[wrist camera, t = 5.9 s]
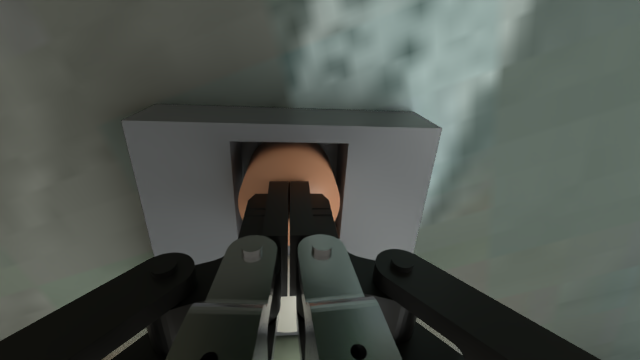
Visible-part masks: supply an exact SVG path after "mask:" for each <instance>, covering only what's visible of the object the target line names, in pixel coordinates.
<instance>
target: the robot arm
mask: <svg viewBox="0 0 640 360" xmlns="http://www.w3.org/2000/svg"><path fill="white" fill-rule="evenodd" d="M287 291H288V181H270V182H269V188H268V194H254V195H253V196H252V197H251V198H250V199H249V200H248V202H247V206H246V210H245V214H244V218H243V221H242V225H241V229H240V233H239V237H238V239H237V240H235V241H234V242H232V243H231V244H230V245H229V246H228V248H227V250H226V252H225V255H224V256H223V257H221V258H219V259H216V260H213V261H210V262H206V263H201V264H197V265H195V263H194V260H193V259H192V258H191V257H190V256H189V255H187V254H184V253H178V252H173V253H165V254H161V255H158V256H155V257H153V258H151V259H149V260H147V261H145V262H143V263H141V264H140V265H138V266H136V267H134V268H132V269H131V270H129V271H127V272H125V273H123V274H121V275H120V276H118V277H116V278H114V279H112V280H111V281H109V282H107V283H105V284H103V285H101V286H100V287H98V288H96V289H94V290H92V291H91V292H89V293H87V294H85V295H83V296H81V297H80V298H78V299H76V300H74V301H72V302H71V303H69V304H67V305H65V306H63V307H61V308H60V309H58V310H56V311H54V312H52V313H51V314H49V315H47V316H45V317H43V318H41V319H40V320H38V321H36V322H34V323H32V324H31V325H29V326H27V327H25V328H23V329H21V330H20V331H18V332H16V333H14V334H12V335H11V336H9V337H7V338H5V339H3V340H1V341H0V360H101V359H103V358H104V357H106V356H107V355H108V354H110V353H111V352H112V351H114V350H115V349H117V348H118V347H119V346H121V345H122V344H123V343H125V342H126V341H128V340H129V339H130V338H132V337H133V336H135V335H136V334H137V333H139V332H140V331H141V330H143V329H144V328H147V331H148V333H146V334H145V335H144V336H142V337H141V338H140V339H138V340H137V341H136V342H134V343H133V344H132V345H130V346H129V347H128V348H126V349H125V350H123V351H122V352H121V353H119V354H118V355H117V356H115V357H114V358H113V359H111V360H273V358H274V350H275V343H276V335H277V327H278V313H279V311H280V306H281V297H286V296H287ZM290 296H296V323H297V333H298V342H299V351H300V360H600V359H598V358H596V357H595V356H593V355H591V354H589V353H588V352H586V351H584V350H582V349H581V348H579V347H577V346H575V345H574V344H572V343H570V342H568V341H566V340H565V339H563V338H561V337H559V336H558V335H556V334H554V333H552V332H551V331H549V330H547V329H545V328H544V327H542V326H540V325H538V324H537V323H535V322H533V321H531V320H529V319H528V318H526V317H524V316H522V315H521V314H519V313H517V312H515V311H514V310H512V309H510V308H508V307H507V306H505V305H503V304H501V303H500V302H498V301H496V300H494V299H492V298H491V297H489V296H487V295H485V294H484V293H482V292H480V291H478V290H477V289H475V288H473V287H471V286H470V285H468V284H466V283H464V282H463V281H461V280H459V279H457V278H455V277H454V276H452V275H450V274H448V273H447V272H445V271H443V270H441V269H440V268H438V267H436V266H434V265H433V264H431V263H429V262H427V261H426V260H424V259H422V258H420V257H418V256H417V255H415V254H413V253H411V252H408V251H405V250H401V249H388V250H384V251H382V252H380V253H379V254H378V255H377V257H376V260H371V259H366V258H362V257H358V256H355V255H353V254H351V253H349V252H348V251H347V249H346V247H345V245H344V244H343V242H341V241H340V240H339V239H338V236H337V231H336V227H335V223H334V219H333V216H332V211H331V206H330V202H329V200H328V199H327V198H326V197H325V196H324V195H323V194H310V188H309V181H290ZM417 317H418V318H419V319H421V320H422V321H423V322H425V323H426V324H427V325H429V326H430V327H432V328H433V329H434V330H436V331H437V332H439V333H440V334H441V335H443V336H444V337H446V338H447V339H448V340H450V341H451V342H453V343H454V344H455V345H456V346H457V347H458V348H459V349H460V351H461V352H462V354H463V355H461V354H460V353H458V352H457V351H455V350H454V349H453V348H451V347H450V346H449V345H447V344H446V343H444V342H443V341H442V340H440V339H439V338H438V337H436V336H435V335H433V334H432V333H431V332H429V331H428V330H427V329H425V328H424V327H423V326H421V325H420V324H418V323H417V322H416V318H417Z"/></svg>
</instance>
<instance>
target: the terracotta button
mask: <svg viewBox="0 0 640 360" xmlns="http://www.w3.org/2000/svg"><path fill="white" fill-rule="evenodd" d="M270 181H288V246H290V181H309V188H310V194H323V195H324V196H325V197H326V198H327V199H328V200H329V202H330V206H331V211H332V216H333V219H334V221H335V219H336V217H337V215H338V212H339V207H340V196H339V191H338V187H337V184H336V181H335V178H334V175H333V172H332V168H331V165H330V162H329V159H328V157H327V155H326V153H325V152H324V150H323V149H322V148H321V147H320V146H319V145H318V144H317V143H295V142H263V143H262V144H261V145H259V147H258V148H257V149H256V150H255V151H254V153H253V155H252V157H251V159H250V162H249V165H248V168H247V171H246V174H245V176H244V179H243V182H242V185H241V188H240V191H239V196H238V208H239V212H240V215H241V218H242V220H243V218H244V214H245V210H246V206H247V202H248V200H249V199H250V198H251V197H252V196H253V195H254V194H268V188H269V182H270Z"/></svg>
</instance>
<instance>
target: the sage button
mask: <svg viewBox="0 0 640 360" xmlns="http://www.w3.org/2000/svg"><path fill="white" fill-rule="evenodd" d="M273 360H300V351H299V342H298V335H282V336H276V343H275V350H274V358H273Z"/></svg>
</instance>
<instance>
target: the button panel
mask: <svg viewBox="0 0 640 360" xmlns="http://www.w3.org/2000/svg"><path fill="white" fill-rule="evenodd" d="M121 122H122V126H123V130H124V134H125V138H126V143H127V147H128V151H129V155H130V159H131V163H132V167H133V171H134V176H135V180H136V184H137V188H138V192H139V196H140V200H141V204H142V208H143V213H144V217H145V221H146V225H147V229H148V233H149V237H150V241H151V246H152V250H153V254H154V257H155V256H158V255H161V254H165V253H173V252H178V253H184V254H187V255H189V256H190V257H191V258H192V259H193V260H194V263H195V265H197V264H201V263H206V262H210V261H213V260H216V259H219V258H221V257H223V256H224V255H225V252H226V250H227V248H228V246H229V245H230V244H231V243H232V242H234V241H235V240H237V239H238V237H239V233H240V229H241V225H242V221H243V220H242V218H241V215H240V212H239V208H238V196H239V191H240V188H241V185H242V182H243V179H244V176H245V174H246V171H247V168H248V165H249V162H250V159H251V157H252V155H253V153H254V151H255V150H256V149H257V148H258V147H259V145H261V144H262V143H263V142H295V143H317V144H318V145H319V146H320V147H321V148H322V149H323V150H324V152H325V153H326V155H327V157H328V159H329V162H330V165H331V168H332V172H333V175H334V178H335V181H336V184H337V187H338V191H339V196H340V207H339V212H338V215H337V217H336V219H335V221H334V223H335V227H336V231H337V236H338V239H339V240H340V241H341V242H343V244H344V245H345V247H346V249H347V251H348V252H349V253H351V254H353V255H355V256H358V257H362V258H366V259H371V260H376V257H377V255H378V254H379V253H380V252H382V251H384V250H388V249H401V250H405V251H408V252H411V253H413V252H414V248H415V244H416V239H417V235H418V231H419V226H420V222H421V218H422V213H423V209H424V205H425V200H426V196H427V192H428V187H429V183H430V179H431V174H432V170H433V166H434V161H435V157H436V153H437V148H438V144H439V140H440V135H441V131H442V128H441V127H439V126H437V125H435V124H434V123H432V122H430V121H429V120H427V119H425V118H424V117H422V116H420V115H418V114H417V113H415V112H404V111H372V110H339V109H306V108H273V107H240V106H207V105H174V104H155V105H153V106H151V107H149V108H146V109H144V110H142V111H140V112H138V113H136V114H134V115H132V116H129V117H127V118H125V119H123V120H121ZM288 255H290V246H288ZM282 335H298V333H297V332H286V333H284V332H277V335H276V336H282Z"/></svg>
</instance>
